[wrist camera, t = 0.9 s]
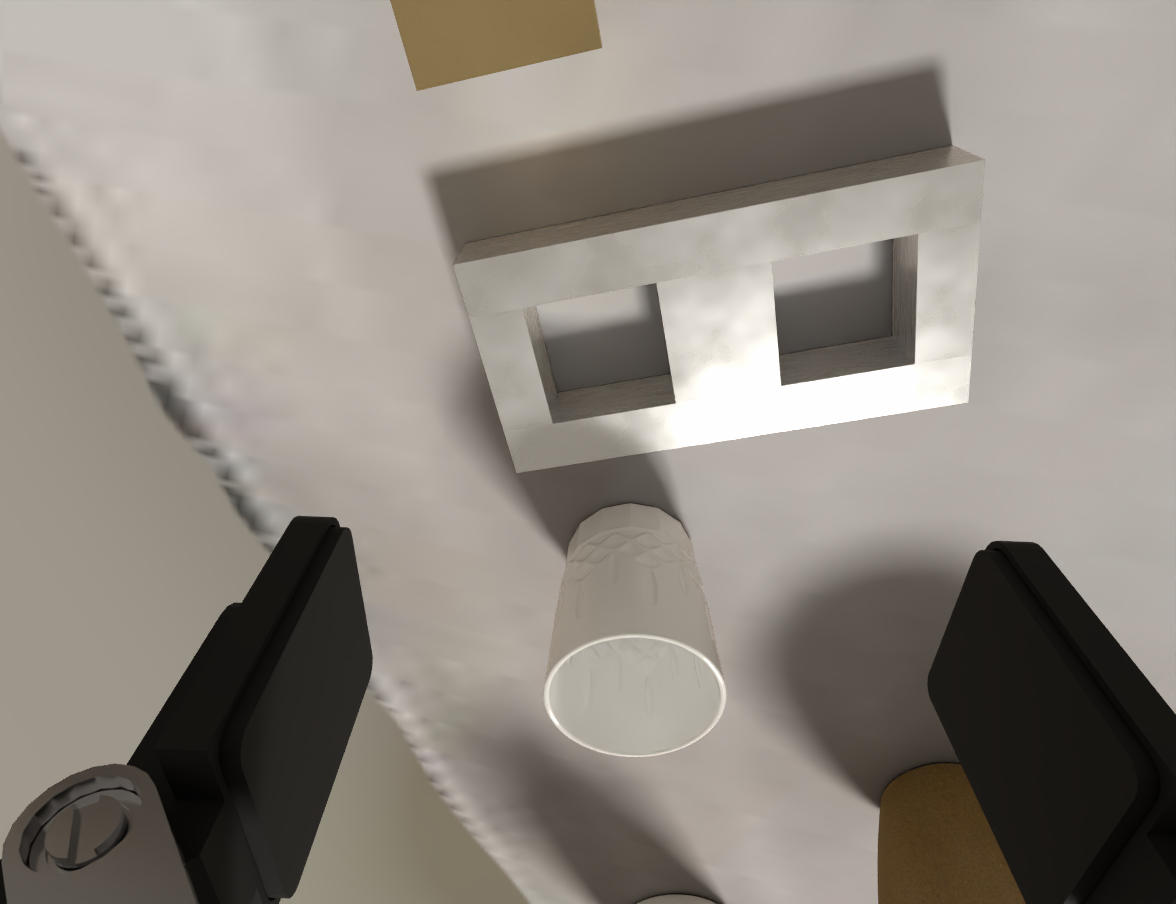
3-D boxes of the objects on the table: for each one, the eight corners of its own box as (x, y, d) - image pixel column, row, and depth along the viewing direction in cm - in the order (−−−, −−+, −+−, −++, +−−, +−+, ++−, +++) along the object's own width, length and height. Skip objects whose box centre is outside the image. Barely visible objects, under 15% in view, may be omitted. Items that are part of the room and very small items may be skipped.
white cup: (554, 492, 38) (537, 634, 30) (706, 491, 38) (733, 634, 30) (561, 605, 43) (548, 757, 34) (699, 605, 42) (720, 758, 34)
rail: (952, 145, 29) (985, 159, 27) (941, 371, 34) (968, 402, 32) (465, 243, 32) (452, 264, 29) (523, 439, 37) (516, 473, 34)
